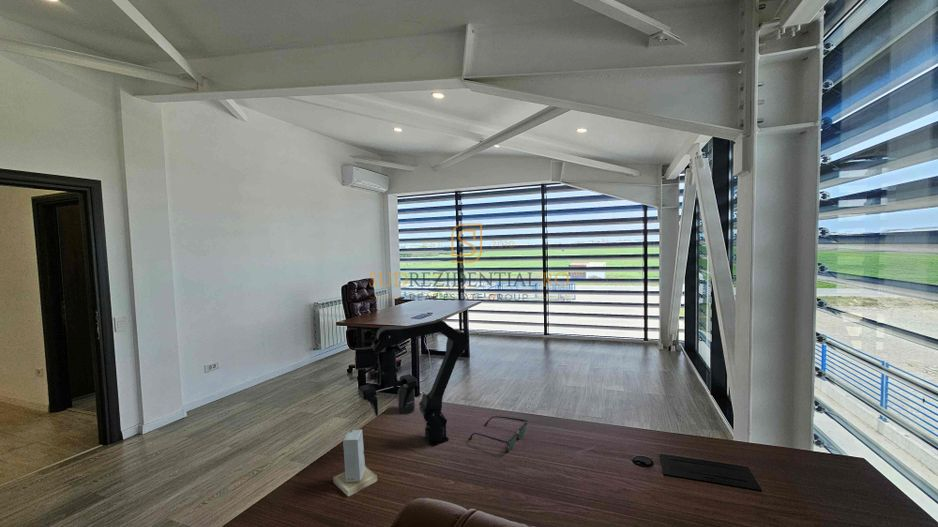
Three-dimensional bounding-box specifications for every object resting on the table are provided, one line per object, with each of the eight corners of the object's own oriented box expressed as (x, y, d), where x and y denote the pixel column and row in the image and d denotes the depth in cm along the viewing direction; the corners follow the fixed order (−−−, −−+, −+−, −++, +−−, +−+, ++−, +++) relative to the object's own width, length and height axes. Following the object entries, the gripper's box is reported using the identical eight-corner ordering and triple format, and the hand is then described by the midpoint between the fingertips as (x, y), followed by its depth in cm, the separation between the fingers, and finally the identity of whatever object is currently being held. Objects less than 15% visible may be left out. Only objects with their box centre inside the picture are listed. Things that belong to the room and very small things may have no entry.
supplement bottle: (411, 414, 145) (410, 385, 144) (395, 413, 146) (394, 385, 146) (417, 407, 151) (416, 379, 151) (402, 406, 153) (401, 378, 152)
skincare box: (360, 481, 101) (358, 439, 100) (344, 483, 100) (342, 440, 100) (365, 468, 107) (363, 428, 106) (350, 469, 106) (348, 429, 106)
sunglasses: (487, 423, 136) (487, 410, 136) (529, 433, 127) (528, 419, 127) (464, 443, 122) (463, 429, 122) (509, 457, 113) (508, 441, 113)
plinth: (361, 468, 110) (361, 463, 110) (377, 480, 103) (377, 475, 103) (333, 482, 103) (333, 477, 103) (348, 496, 97) (347, 491, 97)
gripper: (403, 354, 130) (405, 396, 131) (351, 365, 120) (354, 411, 120) (417, 361, 121) (419, 406, 122) (363, 374, 110) (365, 423, 111)
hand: (389, 411), depth 119 cm, fingers open, 9 cm apart
